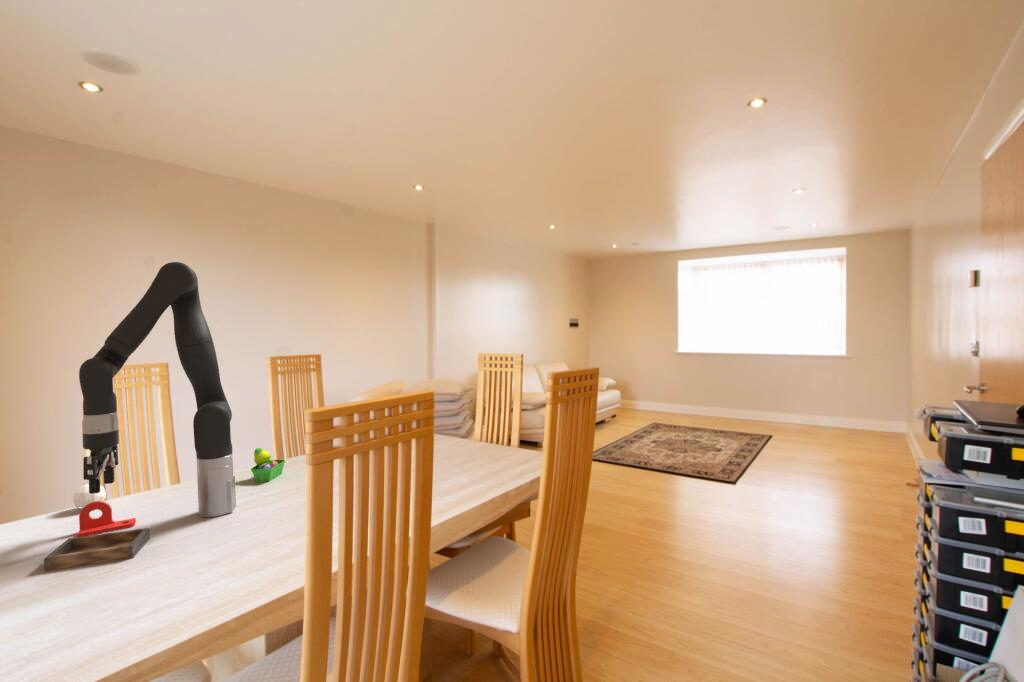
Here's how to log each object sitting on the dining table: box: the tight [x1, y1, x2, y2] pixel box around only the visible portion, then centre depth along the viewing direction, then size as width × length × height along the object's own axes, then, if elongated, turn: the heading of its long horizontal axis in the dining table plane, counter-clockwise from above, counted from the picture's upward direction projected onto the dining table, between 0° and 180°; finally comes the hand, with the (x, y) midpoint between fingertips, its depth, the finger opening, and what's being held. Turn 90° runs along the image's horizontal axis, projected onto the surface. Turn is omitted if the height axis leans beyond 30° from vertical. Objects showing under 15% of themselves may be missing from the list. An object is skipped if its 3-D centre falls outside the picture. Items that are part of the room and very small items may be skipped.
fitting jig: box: [43, 527, 151, 572], centre depth 119 cm, size 17×11×3 cm, turn 110°
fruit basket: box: [250, 447, 286, 483], centre depth 176 cm, size 11×9×11 cm
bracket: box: [76, 501, 137, 537], centre depth 133 cm, size 12×4×8 cm, turn 123°
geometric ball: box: [72, 483, 107, 510], centre depth 149 cm, size 8×8×8 cm
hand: (102, 488), depth 132 cm, fingers open, 8 cm apart
